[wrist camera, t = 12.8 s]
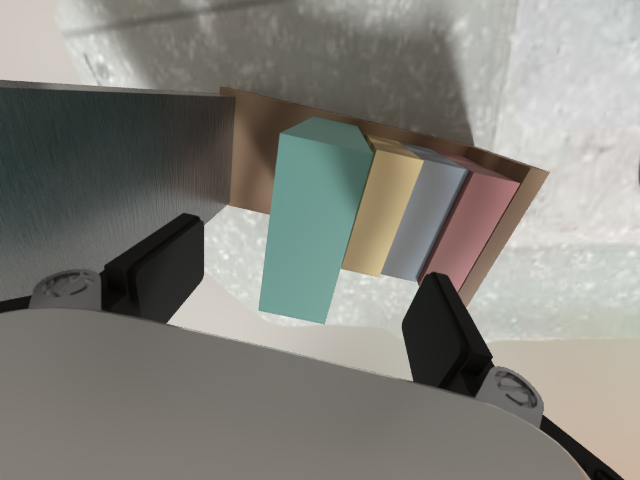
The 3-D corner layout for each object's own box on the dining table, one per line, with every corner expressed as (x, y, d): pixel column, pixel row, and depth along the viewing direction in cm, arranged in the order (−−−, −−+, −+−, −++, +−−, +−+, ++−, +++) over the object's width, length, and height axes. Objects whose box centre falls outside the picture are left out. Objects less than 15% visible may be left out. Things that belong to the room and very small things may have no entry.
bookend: (235, 97, 24) (-247, 76, 4) (229, 202, 28) (-15, 418, 9) (222, 93, 23) (-326, 59, 4) (218, 199, 28) (-51, 411, 9)
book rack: (474, 146, 25) (550, 172, 16) (429, 244, 31) (466, 307, 21) (226, 87, 25) (156, 79, 16) (222, 198, 30) (167, 241, 21)
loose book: (357, 126, 24) (373, 154, 11) (333, 224, 29) (324, 324, 16) (314, 116, 24) (279, 132, 11) (296, 216, 29) (258, 310, 16)
